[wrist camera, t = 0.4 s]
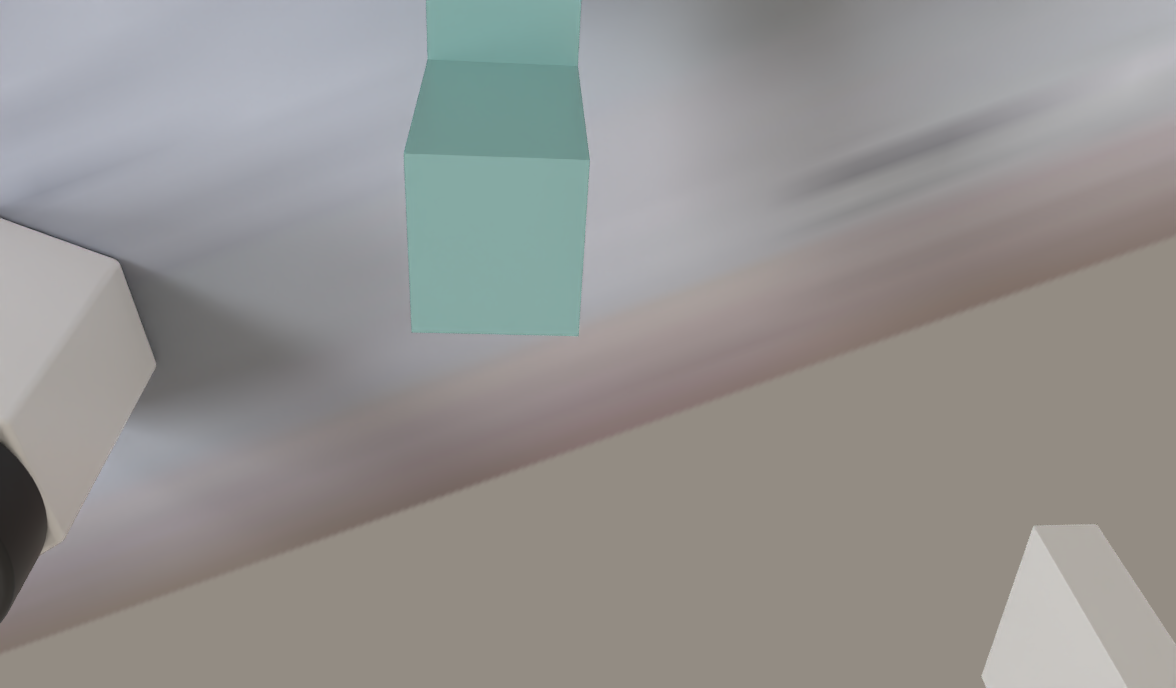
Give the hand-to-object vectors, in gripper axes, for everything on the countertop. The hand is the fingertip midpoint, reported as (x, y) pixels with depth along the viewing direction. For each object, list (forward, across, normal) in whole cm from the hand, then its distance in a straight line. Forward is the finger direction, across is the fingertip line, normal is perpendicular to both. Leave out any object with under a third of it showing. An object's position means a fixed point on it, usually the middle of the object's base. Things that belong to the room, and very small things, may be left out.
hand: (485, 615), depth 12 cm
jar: (+24, -18, -10) cm, 31 cm away
